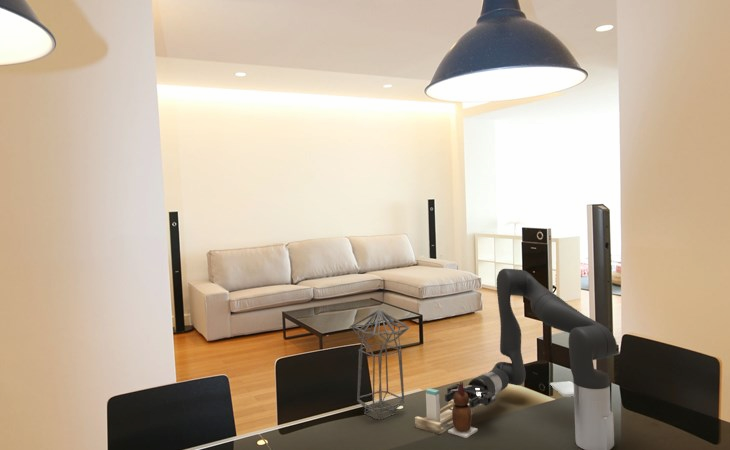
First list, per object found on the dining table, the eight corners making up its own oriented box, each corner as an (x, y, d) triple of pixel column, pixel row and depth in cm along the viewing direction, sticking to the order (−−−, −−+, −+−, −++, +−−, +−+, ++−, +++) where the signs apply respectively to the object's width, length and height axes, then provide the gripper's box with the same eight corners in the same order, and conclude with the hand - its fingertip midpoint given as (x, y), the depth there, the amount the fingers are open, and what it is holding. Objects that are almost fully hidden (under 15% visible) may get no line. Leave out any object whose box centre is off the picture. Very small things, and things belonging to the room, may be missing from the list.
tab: (440, 422, 160) (438, 390, 160) (436, 424, 159) (435, 392, 158) (430, 419, 163) (429, 388, 162) (427, 421, 161) (425, 390, 161)
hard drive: (549, 382, 193) (563, 393, 181) (571, 381, 193) (586, 392, 181) (550, 386, 193) (564, 398, 181) (571, 385, 193) (587, 397, 181)
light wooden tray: (474, 413, 170) (473, 404, 170) (439, 434, 155) (438, 424, 155) (450, 407, 176) (450, 398, 176) (415, 427, 161) (414, 417, 161)
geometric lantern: (384, 401, 184) (382, 304, 183) (413, 415, 171) (412, 311, 170) (348, 412, 175) (346, 310, 174) (376, 428, 162) (374, 317, 161)
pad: (477, 430, 156) (477, 428, 156) (466, 438, 152) (466, 436, 152) (459, 425, 161) (459, 423, 161) (448, 432, 156) (447, 430, 156)
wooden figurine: (472, 434, 153) (469, 384, 152) (452, 433, 154) (450, 383, 154) (472, 425, 159) (470, 376, 159) (453, 424, 161) (451, 376, 160)
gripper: (465, 371, 171) (437, 384, 159) (505, 379, 162) (478, 393, 150) (466, 393, 172) (438, 408, 160) (506, 402, 162) (479, 419, 150)
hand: (458, 401), depth 155 cm, fingers open, 8 cm apart
